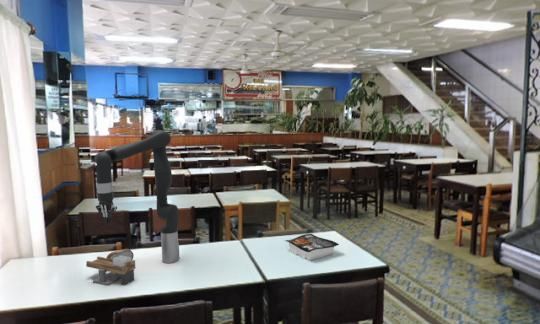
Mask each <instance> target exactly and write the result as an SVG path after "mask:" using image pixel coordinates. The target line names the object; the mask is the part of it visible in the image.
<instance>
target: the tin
mask: <svg viewBox="0 0 540 324" xmlns="http://www.w3.org/2000/svg"><path fill="white" fill-rule="evenodd" d="M120 255H122V256H127V257H131V261H132V260H134V252H133V251H132V250H131V249H129V248H123V249H119V250H115V251H111V252H110V253H109V254H107V256H106V258H109V259H113V258H115V257H117V256H120Z"/></svg>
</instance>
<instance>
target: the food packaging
mask: <svg viewBox="0 0 540 324" xmlns="http://www.w3.org/2000/svg"><path fill="white" fill-rule="evenodd" d="M283 241H284V242H286V243H288V247H289V250H290V252H291V253H293V254H294V255H298V256H299V257H301V258H303V260H304V259H306V260H308V261H313V260H317V259H320V258H325V257H327V256H331V255H333V252H334V250H335V247H336V246H339V245H340V244H339V243H337V242H335V241H334V240H331V239H327V238H323V237H320V236H316V235H315V234H313V233H306V234H302V235H299V236H297V237H295V238H291V239H288V240H287V239H286V240H283Z"/></svg>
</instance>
